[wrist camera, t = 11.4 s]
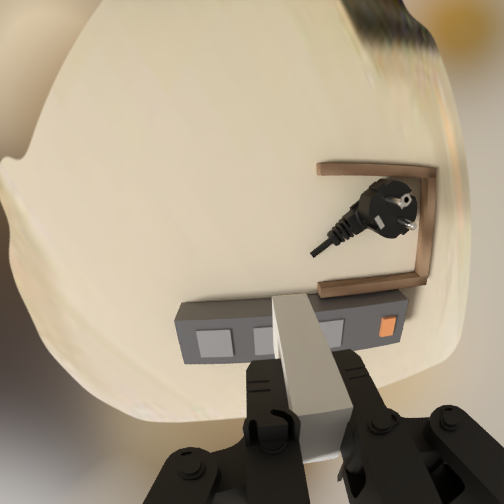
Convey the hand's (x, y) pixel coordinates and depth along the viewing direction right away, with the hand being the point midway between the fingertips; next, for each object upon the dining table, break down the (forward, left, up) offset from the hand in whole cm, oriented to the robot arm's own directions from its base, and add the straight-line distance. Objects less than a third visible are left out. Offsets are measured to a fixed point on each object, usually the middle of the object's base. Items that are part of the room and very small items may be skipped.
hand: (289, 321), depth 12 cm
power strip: (+11, +3, -18) cm, 22 cm away
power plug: (+3, +5, -14) cm, 15 cm away
